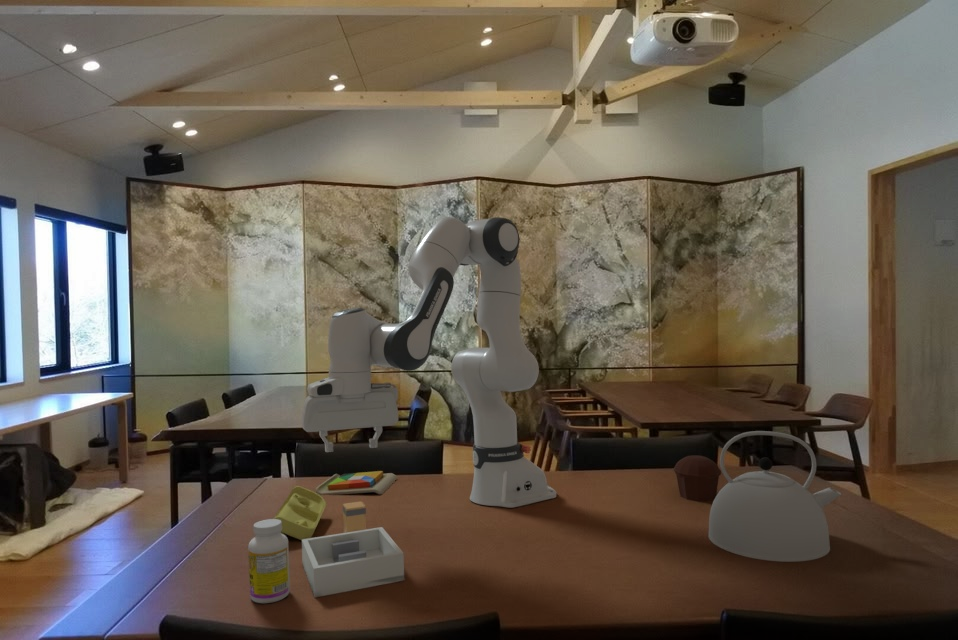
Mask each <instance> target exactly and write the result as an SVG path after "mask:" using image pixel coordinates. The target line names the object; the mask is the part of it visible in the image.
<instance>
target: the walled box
mask: <svg viewBox="0 0 958 640" xmlns="http://www.w3.org/2000/svg"><path fill="white" fill-rule="evenodd" d="M301 558H302V559H301V561H302V567H304V568H303V570H304V573H305V572H306V573H305V575H307V576H306V579H307V581H308V584H309V583H310V584H309V586H310V589H311V591H313V592H312V594H313V596H314V598H319V597H324V596H330V595H335V594H336V595H337V594H341V593H346V592H352V591H356V590H361V589H366V588H371V587H376V586H382V585H387V584H392V583H397V582H403V581H405V557H404V552H403V551H402V549H401V548H400V547H399V546H398V544H397V543H396V542H395V541H394V540H393V539H392V537H391V536H390V534H389V533H388V531H386V530H385V529H384V527H382V526H380V527H374V528H366V530H360V531H353V532H347V533H344V532H341V533H335V534H329V535H322V536H317V537H316V536H315V537H311V538H309V539H302V540H301Z"/></svg>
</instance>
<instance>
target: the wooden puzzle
mask: <svg viewBox="0 0 958 640" xmlns="http://www.w3.org/2000/svg"><path fill="white" fill-rule="evenodd" d="M395 480H396V481H397V480H398V477H397V475H396V474H394V473H392V472H388V473H384V471H383V470H377V471H376V470H375V471H367V472H366V471H364V472H363V471H362V472H350V473H349V472H348V473H343V474H341V475H340V474H338V473H335V474H333V475H332V476H331V477H329V478H327V479H326V480H325V481H323V482H322V483H321V484H319V485H318V486H317V487H315V493H317V494H319V495H320V496H321V495H324V496H325V495H326V496H327V495H329V496H331V495H332V496H334V495H337V496H338V495H353V494H365V493H366V494H367V493H375V494H377V495H379V496H380V495H383V494H384V493H385V492H386V491H387V490H388V489H389V488H390V487H391V486H392V485H393V484H394V483H395V482H396V481H395ZM392 483H393V484H392ZM391 484H392V485H391Z"/></svg>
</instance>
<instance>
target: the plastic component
mask: <svg viewBox="0 0 958 640" xmlns="http://www.w3.org/2000/svg"><path fill="white" fill-rule="evenodd" d="M326 506H327V503H326V499H324V497H323V496H321V495H319V494H317V493H316V491H314V490H310V489H308V488H305V487H303V486H301V485H296V486H294V487H293V488H292V490H291V491H290V493H289V494H288V496H287V497H286V499H285V500H284V502H283V504H282V505H281V506H280V509H279V510H278V511H277V512H276V515H275V516H274V517H273V519H278V520H281V522H282V530H281V534H284V535H286V536H287V535H288V536H290V537H293V538H294V539H297V540H300V541H302V539H309V538H313V535H314V533H315V530H316V528H317V526H318V524H319V522H320V519H321V517H322V516H323V514H324V511H325V509H326Z"/></svg>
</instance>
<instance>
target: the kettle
mask: <svg viewBox="0 0 958 640" xmlns="http://www.w3.org/2000/svg"><path fill="white" fill-rule="evenodd" d="M750 436H771V437H779V438H785V439H789V440H792V441H794V442H797V443H798V444H800V445H801V446H803V448H805V449H806V450H807V452H808V454H809V456H810V459H811V469H810V473H809V475H808V478H806V481H805V483H804V484H803V485H802V484H800V483H799V482H798V481H795V480H794V479H793V478H792V477H789V476H787V475H785V474H782V473H779V472H773V471H770V470H771V469H772V467H773V461H772V460H771V459H770V458H769V457H767V456H766V457H765V456H764V457H761V458H760V459H759V461H758V467H759V468H760V469H761V470H757V471H748V472H745V473H743V474H741V475H738V476H735V478H733V479H732V478H731V476H730V475H729V473H728V472H727V470H726V467H725V466H726V465H725V456H726V452H727V450H728V449H729V447H730V446H731V445H732V444H733V443H735V442H736V441H738V440H740V439H742V438H746V437H750ZM719 465H720V467H719V468H720V470H721V473H722V475H723V476H724V477H725V479H726V480H727V483H726V484H725V485H724V486H723V487H722V488H721V489H720V490H719V491H718V493H717V494H716V497H715V499H713V501H712V505H711V507H710V510H709V519H708V539H709V541H711V543H712V544H714V545H715V546H716V547H719V548H720V549H722V550H725V551H726V552H730V553H732V554H736V555H739V556H742V557H746V558H750V559H757V560H763V561H769V562H782V563H783V562H789V563H791V562H792V563H793V562H795V563H796V562H805V561H807V562H808V561H813V560H817V559H820V558H822V557H825V556H826V555H828V554H829V553H830V551H831V544H830V531H829V526H828V522H827V517H826V515H825V512H824V509H823V508H825V507H826V506H827V505H829V504H830V503H831V502H832V501H834V500H835V499H837V498H838V497H840V496H841V495H842V493H841V492H839V491H838V490H836V489H834V488H832V487H827V488H824V489H822V490H819V491H816V492H815V493H811V492H810V491H809V490H808V488H809V486H810V485H811V483H812V482H813V479H814V477H815V475H816V472H817V459H816V455H815V453H814V451H813V449H812V448H811V446H810V445H809V444H808V443H807V442H805V441H804V440H802V439H801V438H799V437H796V436H794V435H792V434H788V433H784V432H779V431H778V432H777V431H770V430H768V431H767V430H766V431H765V430H755V431H753V430H752V431H746V432H742V433H739V434H737V435H735V436H733V437H732V438H731V439H729V440H727V442H726V443H725V444H724V446H723V448H722V449H721V453H720V457H719Z"/></svg>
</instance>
